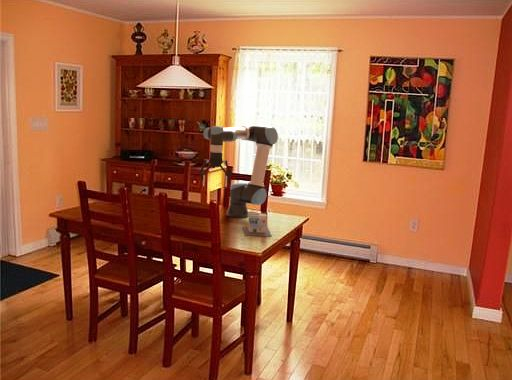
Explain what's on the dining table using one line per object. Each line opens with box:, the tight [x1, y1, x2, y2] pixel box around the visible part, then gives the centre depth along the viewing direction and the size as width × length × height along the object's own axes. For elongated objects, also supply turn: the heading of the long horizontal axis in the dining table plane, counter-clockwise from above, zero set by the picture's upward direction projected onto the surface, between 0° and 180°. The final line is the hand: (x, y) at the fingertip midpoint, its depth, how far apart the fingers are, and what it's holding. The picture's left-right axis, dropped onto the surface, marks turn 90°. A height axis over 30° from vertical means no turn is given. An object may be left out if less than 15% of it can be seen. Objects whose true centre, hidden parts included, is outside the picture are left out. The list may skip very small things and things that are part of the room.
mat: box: [242, 226, 273, 238], centre depth 296 cm, size 20×16×1 cm
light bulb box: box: [247, 212, 268, 233], centre depth 294 cm, size 11×7×11 cm, turn 97°
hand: (214, 186), depth 293 cm, fingers open, 13 cm apart
